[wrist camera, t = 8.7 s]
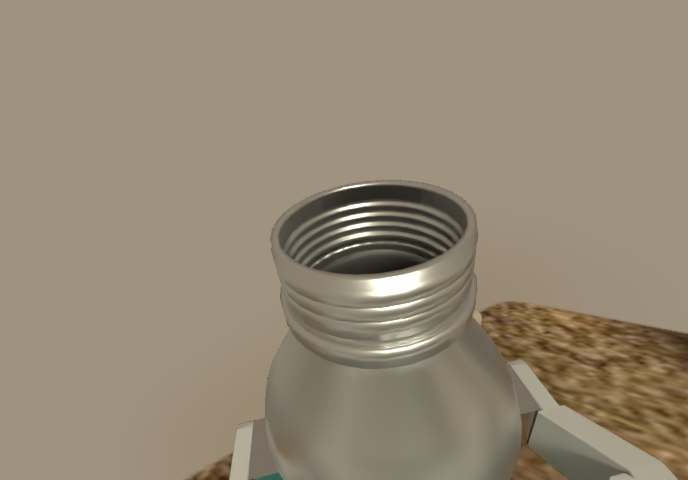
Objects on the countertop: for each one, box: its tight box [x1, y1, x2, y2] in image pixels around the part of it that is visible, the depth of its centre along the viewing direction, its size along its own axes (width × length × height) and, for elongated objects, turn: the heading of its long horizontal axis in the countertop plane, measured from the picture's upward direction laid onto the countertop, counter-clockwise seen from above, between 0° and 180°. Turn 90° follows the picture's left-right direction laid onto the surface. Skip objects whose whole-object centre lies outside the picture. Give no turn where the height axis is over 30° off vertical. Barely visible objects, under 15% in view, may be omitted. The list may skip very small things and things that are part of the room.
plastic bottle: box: [265, 180, 522, 480], centre depth 11 cm, size 6×7×20 cm
